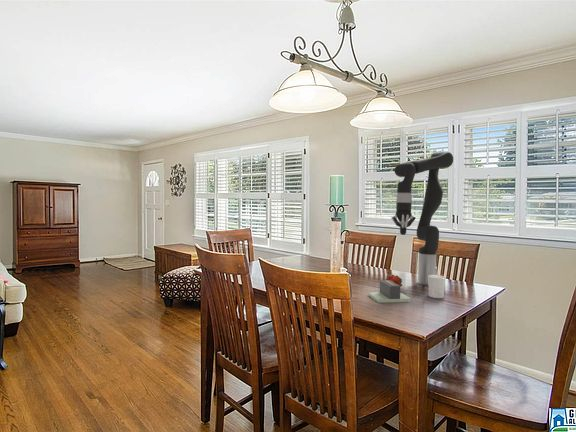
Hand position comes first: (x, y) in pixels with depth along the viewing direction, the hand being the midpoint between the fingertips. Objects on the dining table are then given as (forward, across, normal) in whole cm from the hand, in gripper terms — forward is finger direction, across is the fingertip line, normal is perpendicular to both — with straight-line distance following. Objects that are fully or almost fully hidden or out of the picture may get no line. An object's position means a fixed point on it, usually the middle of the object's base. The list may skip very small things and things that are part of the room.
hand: (402, 234), depth 190 cm
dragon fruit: (+29, +5, +1) cm, 30 cm away
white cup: (+29, -11, +15) cm, 35 cm away
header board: (+29, +14, +16) cm, 36 cm away
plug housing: (+28, +14, +16) cm, 35 cm away
